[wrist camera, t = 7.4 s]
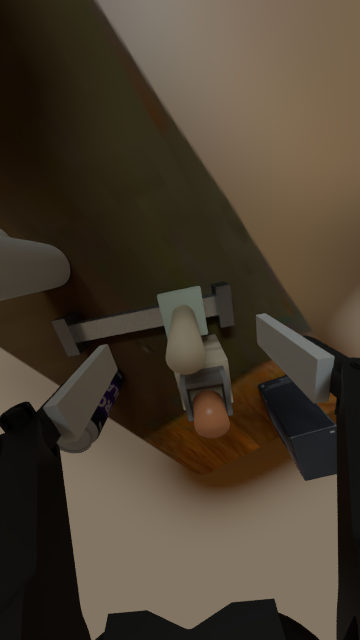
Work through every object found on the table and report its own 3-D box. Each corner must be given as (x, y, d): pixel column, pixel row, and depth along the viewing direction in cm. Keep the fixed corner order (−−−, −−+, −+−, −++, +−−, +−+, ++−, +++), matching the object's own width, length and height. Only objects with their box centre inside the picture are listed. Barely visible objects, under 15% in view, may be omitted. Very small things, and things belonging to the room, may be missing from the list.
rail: (66, 314, 28) (51, 321, 24) (223, 281, 26) (230, 284, 22) (80, 346, 29) (68, 356, 26) (228, 317, 28) (234, 325, 24)
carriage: (159, 291, 26) (136, 324, 12) (197, 283, 26) (217, 308, 12) (169, 332, 28) (159, 398, 14) (204, 325, 28) (228, 386, 14)
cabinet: (175, 341, 29) (172, 382, 19) (215, 334, 29) (233, 372, 19) (183, 375, 31) (184, 427, 21) (220, 369, 31) (239, 419, 21)
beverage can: (114, 392, 33) (78, 461, 21) (89, 376, 32) (37, 440, 20) (131, 375, 31) (103, 438, 20) (106, 357, 30) (61, 414, 19)
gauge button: (190, 392, 19) (191, 415, 17) (220, 387, 19) (227, 409, 16) (195, 416, 21) (197, 440, 18) (224, 411, 20) (231, 435, 17)
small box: (255, 384, 32) (288, 439, 22) (289, 372, 31) (339, 423, 21) (269, 421, 35) (304, 484, 25) (300, 411, 34) (349, 472, 24)
